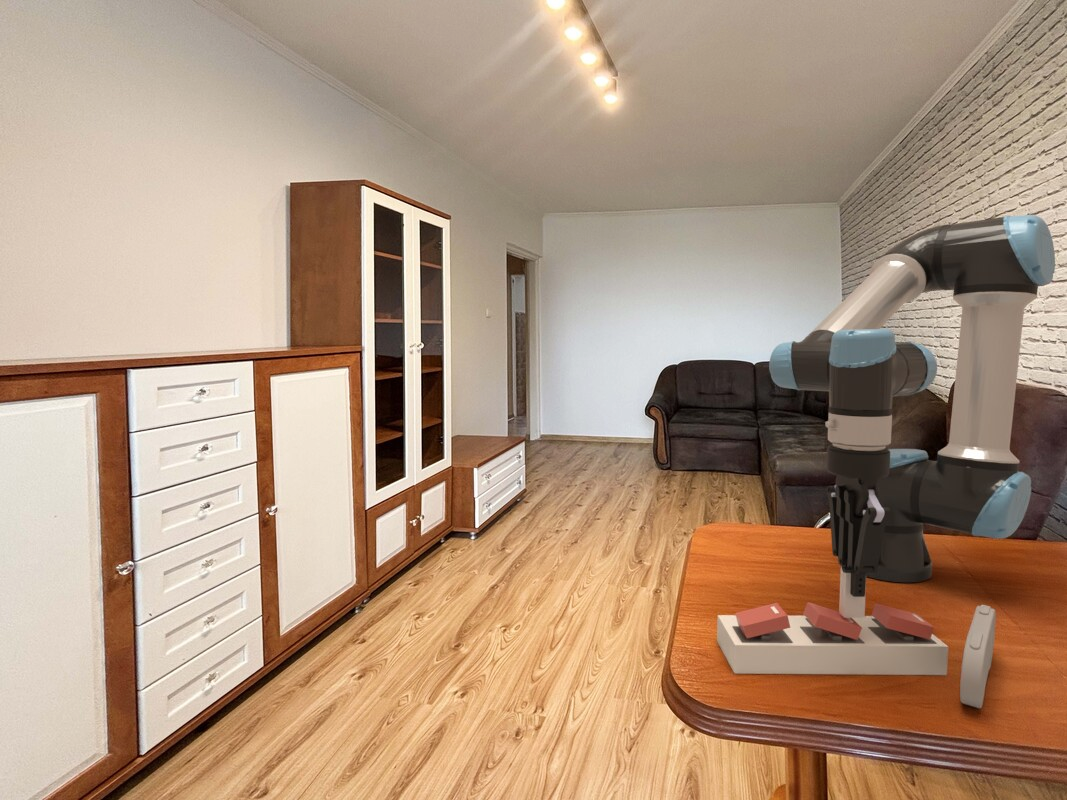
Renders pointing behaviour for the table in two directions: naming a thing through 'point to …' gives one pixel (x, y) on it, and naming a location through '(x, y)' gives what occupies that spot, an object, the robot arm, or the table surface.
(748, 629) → the rocker
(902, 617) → the block
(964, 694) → the grey rounded slab
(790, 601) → the table surface
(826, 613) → the block
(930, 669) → the rocker switch panel
